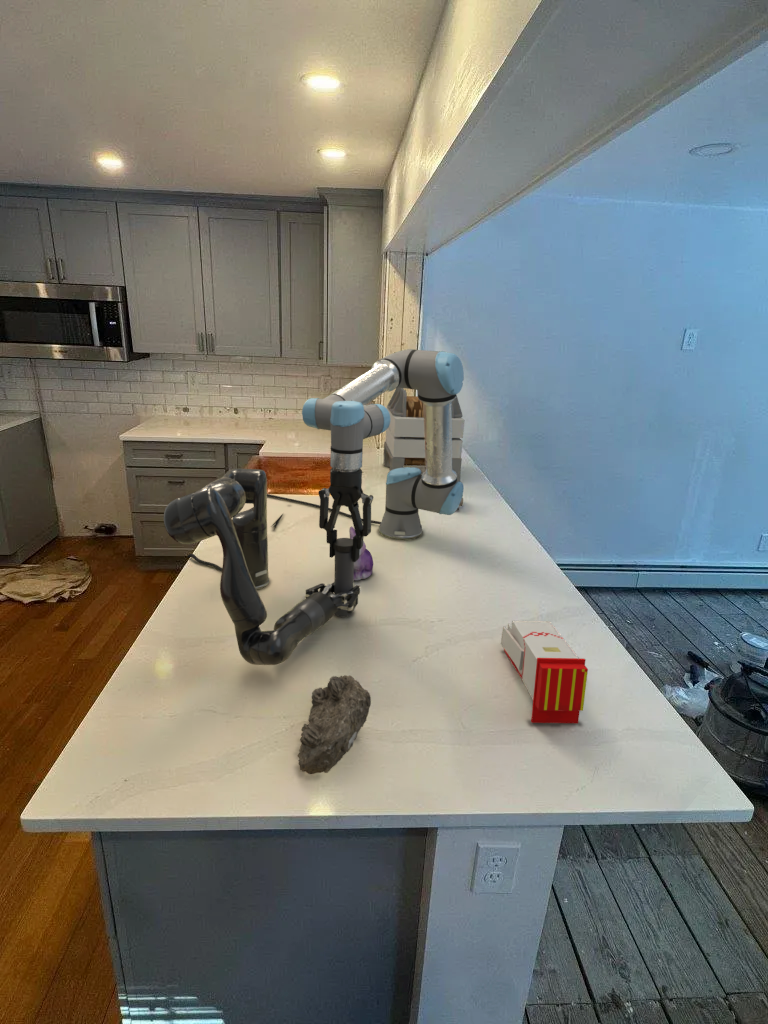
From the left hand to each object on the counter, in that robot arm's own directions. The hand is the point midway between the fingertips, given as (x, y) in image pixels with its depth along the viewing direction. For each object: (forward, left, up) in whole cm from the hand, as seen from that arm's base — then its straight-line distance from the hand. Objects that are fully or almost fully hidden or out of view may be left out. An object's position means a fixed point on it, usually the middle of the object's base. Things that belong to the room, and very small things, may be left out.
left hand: (348, 586), depth 147 cm
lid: (0, -3, +13) cm, 13 cm away
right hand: (0, -3, +9) cm, 9 cm away
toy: (+51, -5, -6) cm, 51 cm away
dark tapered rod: (-56, +43, -6) cm, 71 cm away
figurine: (-8, +18, -6) cm, 21 cm away
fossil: (+23, -41, -6) cm, 48 cm away
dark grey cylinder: (0, -3, -6) cm, 7 cm away
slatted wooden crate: (-40, +130, -6) cm, 136 cm away
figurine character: (-8, +94, -6) cm, 94 cm away
